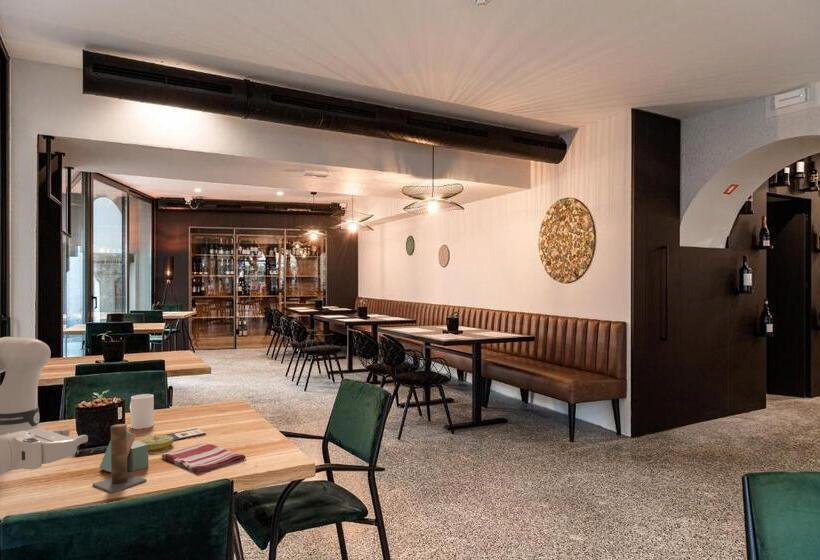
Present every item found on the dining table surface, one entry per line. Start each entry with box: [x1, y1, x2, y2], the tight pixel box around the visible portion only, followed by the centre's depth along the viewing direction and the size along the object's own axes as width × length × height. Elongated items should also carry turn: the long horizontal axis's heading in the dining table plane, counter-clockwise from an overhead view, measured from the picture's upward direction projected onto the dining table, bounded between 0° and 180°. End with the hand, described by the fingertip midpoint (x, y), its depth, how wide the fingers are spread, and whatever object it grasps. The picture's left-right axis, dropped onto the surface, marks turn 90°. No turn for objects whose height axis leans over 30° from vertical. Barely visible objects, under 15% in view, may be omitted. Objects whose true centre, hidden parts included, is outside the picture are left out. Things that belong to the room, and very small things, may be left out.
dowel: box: [110, 423, 128, 484], centre depth 152 cm, size 4×4×16 cm
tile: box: [99, 431, 137, 473], centre depth 163 cm, size 2×9×12 cm, turn 58°
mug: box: [129, 393, 155, 430], centre depth 213 cm, size 12×8×12 cm
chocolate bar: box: [165, 428, 207, 442], centre depth 197 cm, size 9×1×18 cm
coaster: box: [92, 472, 147, 494], centre depth 153 cm, size 10×10×1 cm
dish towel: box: [161, 442, 247, 475], centre depth 173 cm, size 17×23×3 cm
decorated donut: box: [140, 434, 175, 453], centre depth 185 cm, size 10×11×4 cm
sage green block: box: [127, 440, 149, 472], centre depth 167 cm, size 5×11×7 cm, turn 58°
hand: (77, 435), depth 142 cm, fingers open, 8 cm apart
